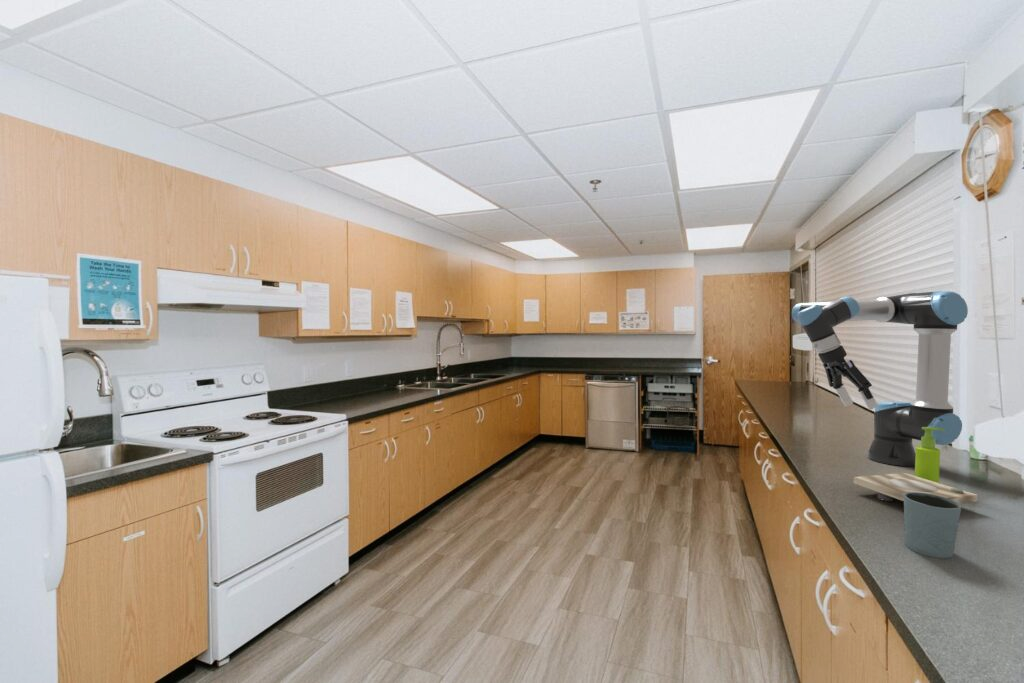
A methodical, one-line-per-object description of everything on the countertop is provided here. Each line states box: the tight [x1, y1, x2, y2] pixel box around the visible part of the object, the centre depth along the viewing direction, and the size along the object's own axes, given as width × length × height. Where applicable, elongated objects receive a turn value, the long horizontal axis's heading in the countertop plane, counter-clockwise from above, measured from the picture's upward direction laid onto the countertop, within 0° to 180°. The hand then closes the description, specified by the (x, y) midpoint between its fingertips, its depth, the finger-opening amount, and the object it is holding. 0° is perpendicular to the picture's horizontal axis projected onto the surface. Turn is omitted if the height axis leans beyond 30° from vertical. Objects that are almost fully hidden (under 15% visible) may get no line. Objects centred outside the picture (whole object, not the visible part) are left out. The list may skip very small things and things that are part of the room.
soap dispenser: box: [914, 427, 944, 483], centre depth 152 cm, size 6×7×20 cm
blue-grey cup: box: [903, 492, 962, 559], centre depth 111 cm, size 10×10×12 cm
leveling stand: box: [853, 472, 978, 505], centre depth 141 cm, size 20×20×6 cm
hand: (861, 406), depth 157 cm, fingers open, 13 cm apart
